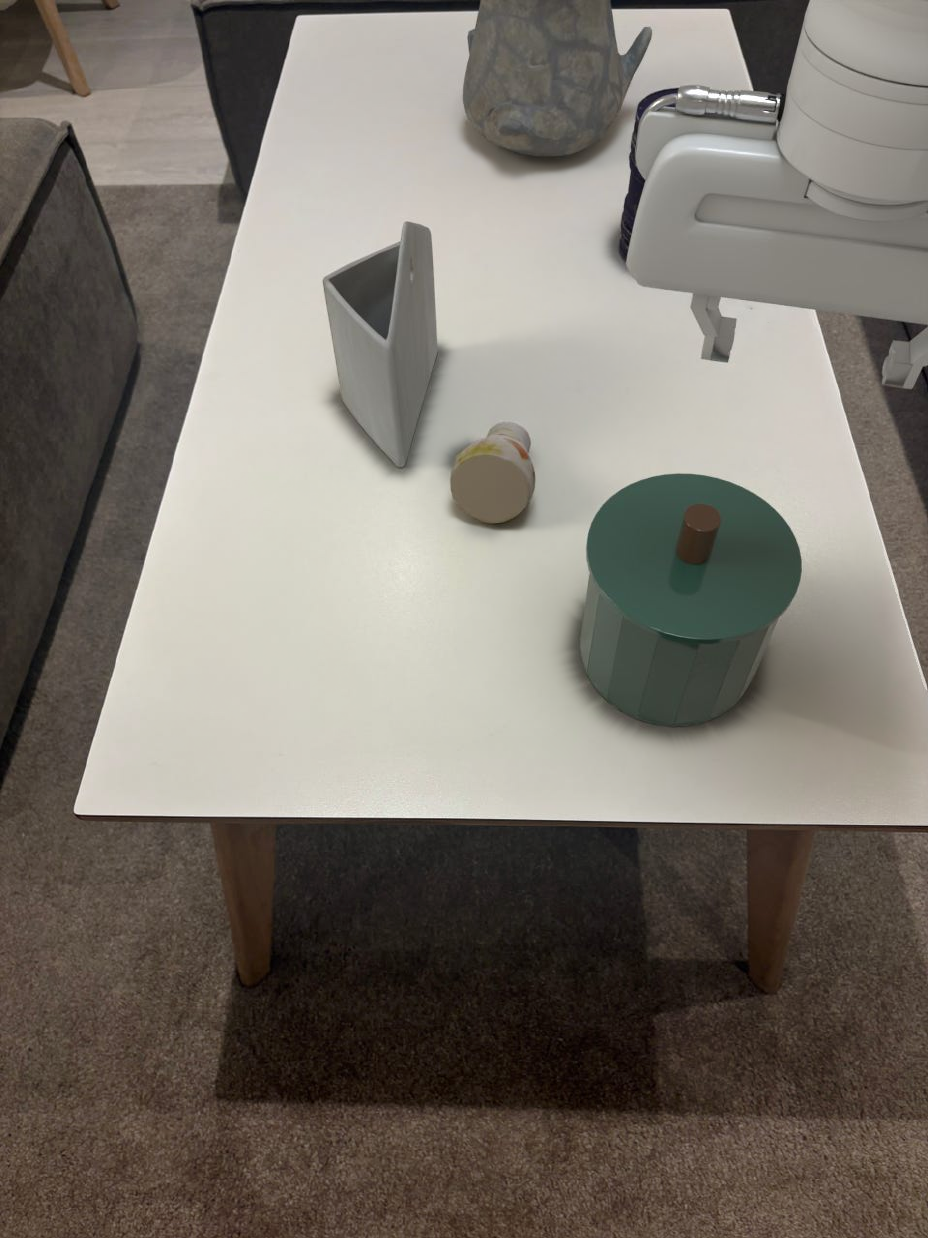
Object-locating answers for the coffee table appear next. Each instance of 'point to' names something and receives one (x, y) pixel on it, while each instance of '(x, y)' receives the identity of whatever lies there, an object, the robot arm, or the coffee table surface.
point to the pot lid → (693, 558)
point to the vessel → (547, 74)
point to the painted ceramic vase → (494, 475)
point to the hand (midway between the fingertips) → (804, 366)
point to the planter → (386, 337)
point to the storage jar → (636, 175)
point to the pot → (664, 668)
